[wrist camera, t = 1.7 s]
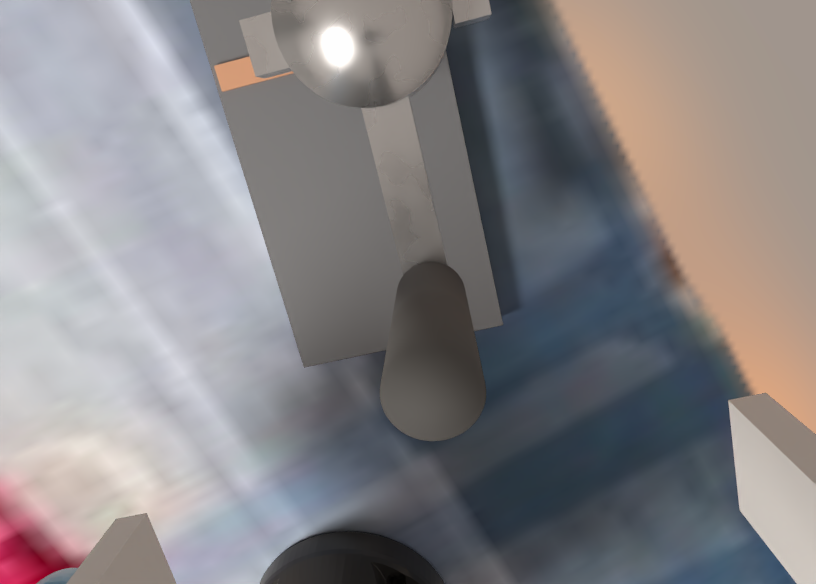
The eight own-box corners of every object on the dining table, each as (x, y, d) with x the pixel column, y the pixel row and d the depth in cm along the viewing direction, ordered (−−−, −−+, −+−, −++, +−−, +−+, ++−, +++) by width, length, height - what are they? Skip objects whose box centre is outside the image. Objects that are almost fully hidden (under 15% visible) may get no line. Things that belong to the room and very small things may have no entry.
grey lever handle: (535, 287, 32) (610, 407, 19) (342, 330, 33) (287, 471, 20) (463, -93, 27) (496, -284, 14) (239, -29, 29) (77, -153, 15)
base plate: (500, 317, 39) (511, 348, 34) (308, 358, 40) (290, 395, 35) (414, -93, 33) (412, -132, 27) (189, -28, 34) (145, -55, 29)
